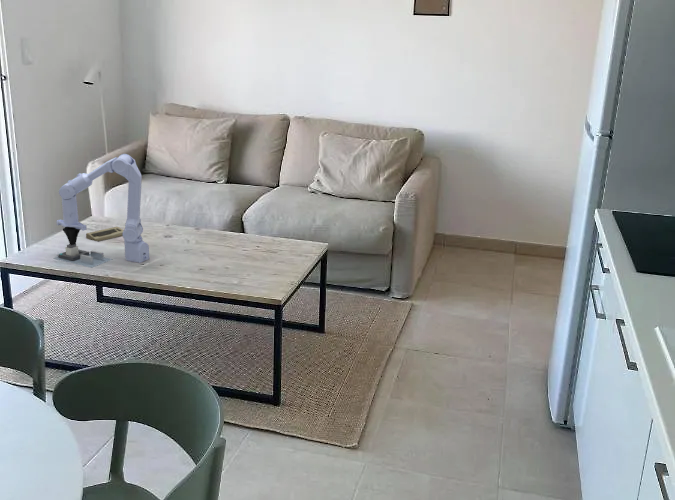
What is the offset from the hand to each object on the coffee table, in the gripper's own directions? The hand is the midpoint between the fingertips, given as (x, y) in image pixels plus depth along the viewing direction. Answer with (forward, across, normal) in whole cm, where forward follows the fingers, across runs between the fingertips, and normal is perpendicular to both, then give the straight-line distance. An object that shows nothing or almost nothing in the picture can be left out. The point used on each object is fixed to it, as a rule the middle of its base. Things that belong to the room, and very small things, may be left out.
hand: (72, 244), depth 298 cm
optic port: (+5, 0, 0) cm, 5 cm away
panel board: (+6, +5, 0) cm, 8 cm away
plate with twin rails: (+5, +10, 0) cm, 11 cm away
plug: (+5, 0, -1) cm, 5 cm away
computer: (+7, -10, +29) cm, 32 cm away
